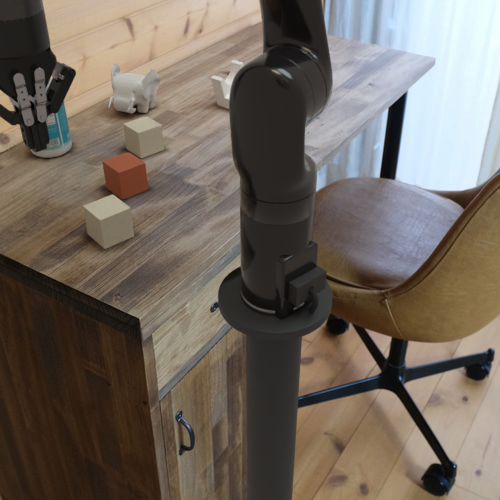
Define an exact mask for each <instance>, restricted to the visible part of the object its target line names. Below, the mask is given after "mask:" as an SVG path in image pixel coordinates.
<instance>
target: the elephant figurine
mask: <svg viewBox="0 0 500 500" xmlns="http://www.w3.org/2000/svg"><path fill="white" fill-rule="evenodd" d="M110 78H111V80H110V81H111V89H112V93H113V94H111V96H110V98H109V101H108V108H110V107H111V104H113V107H114V109H115V110H116V111H118V112H123V113H127V114H131V115H132V114H134V113H136V111H137V112H138V113H143V114H147V113H148V112H149V110H150V109H154V108H155V106H156V101H157V93H158V90H159V88H160V83H161V81H162V78H161V76H160V75H159V73H158V72H157V71H156V70H155V69H153V68H151V69H150V70H149V72H148V73H146V75H145V74H140V73H134V72H133V73H132V72H123V73H122V72H121V67H120V65H119V64H118V63H112V65H111V67H110ZM112 102H113V103H112ZM135 107H136V108H135Z"/></svg>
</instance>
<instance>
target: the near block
mask: <svg viewBox="0 0 500 500" xmlns="http://www.w3.org/2000/svg"><path fill="white" fill-rule="evenodd" d="M82 210H83V215H84V220H85V221H84V222H85V226H86V232H87V235H88V236H89V237H90V238H91V239H92V240H94V242H96V243H97V244H98V245H99V246H100V247H102V248H103V249H104V250H106V249H108V248H111V247H114V246H116V245H118V244H120V243H122V242H125V241H127V240H129V239H131V238H134V237H135V231H134V222H133V216H132V215H133V214H132V208H131V206H129V205H128V204H127V203H125V202H124V201H123V200H122V199H120V198H119V197H118V196H116V195H115V194H114V193H112V194H110V195H107V196H105V197H102V198H99V199H97V200H94V201H91V202H89V203H87V204H84V205H82Z"/></svg>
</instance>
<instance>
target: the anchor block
mask: <svg viewBox="0 0 500 500" xmlns="http://www.w3.org/2000/svg"><path fill="white" fill-rule="evenodd" d="M102 168H103V175H104V180H105V187H106V188H105V189H107V190H108V191H110V192H111V193H112V194H113V195H114V196H116V197H117V198H118V199H120V200H121V201H123V200H125V199H128V198H131V197H134V196H136V195H139V194H141V193H144V192H145V191H148V190H149V184H148V176H147V175H148V174H147V164H146V162H144V161H143V160H142V159H141V158H140V157H138V156H137V155H135V154H133V153H132V152H130V151H128V152H125V153H122V154H119V155H117V156H114V157H111V158H108V159H105V160H102Z"/></svg>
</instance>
